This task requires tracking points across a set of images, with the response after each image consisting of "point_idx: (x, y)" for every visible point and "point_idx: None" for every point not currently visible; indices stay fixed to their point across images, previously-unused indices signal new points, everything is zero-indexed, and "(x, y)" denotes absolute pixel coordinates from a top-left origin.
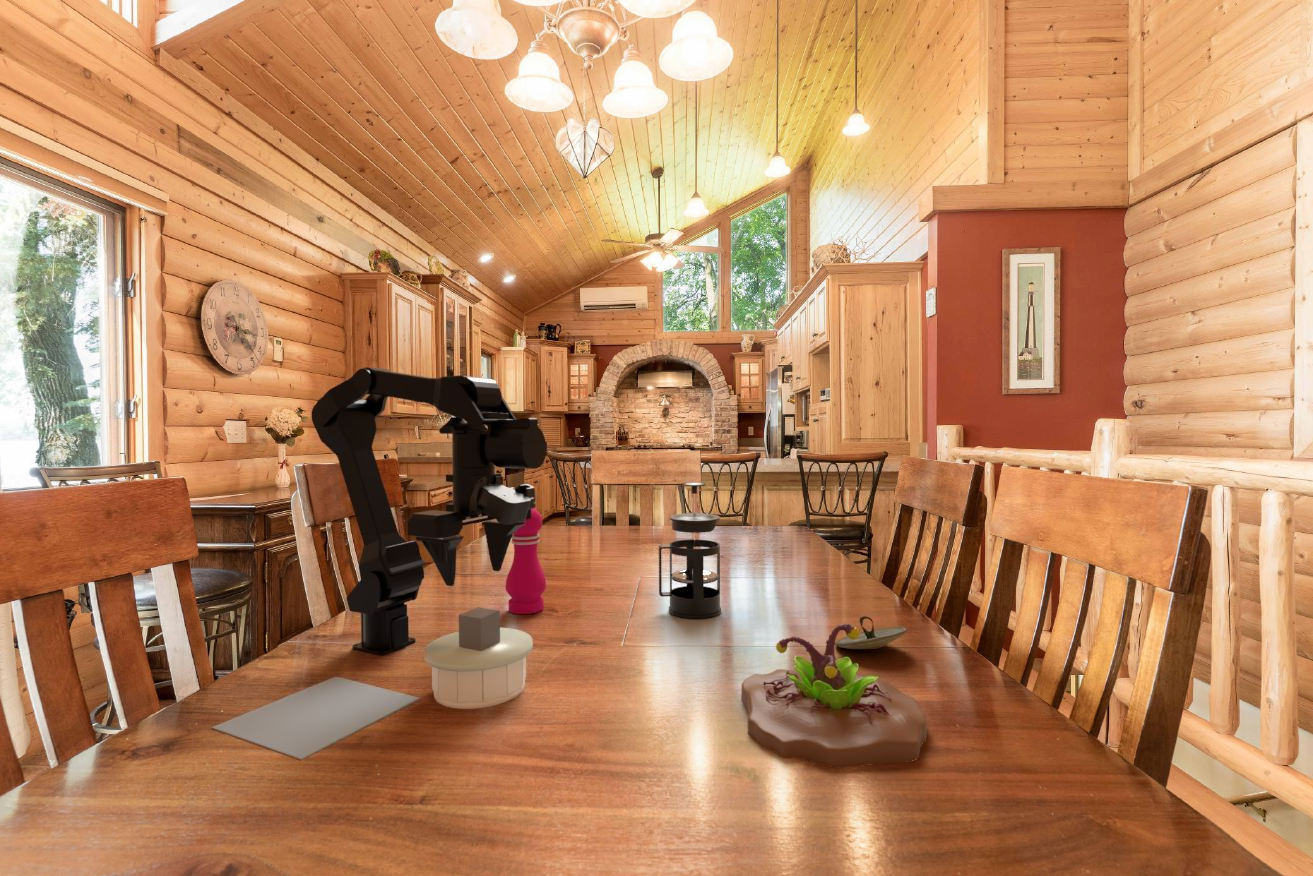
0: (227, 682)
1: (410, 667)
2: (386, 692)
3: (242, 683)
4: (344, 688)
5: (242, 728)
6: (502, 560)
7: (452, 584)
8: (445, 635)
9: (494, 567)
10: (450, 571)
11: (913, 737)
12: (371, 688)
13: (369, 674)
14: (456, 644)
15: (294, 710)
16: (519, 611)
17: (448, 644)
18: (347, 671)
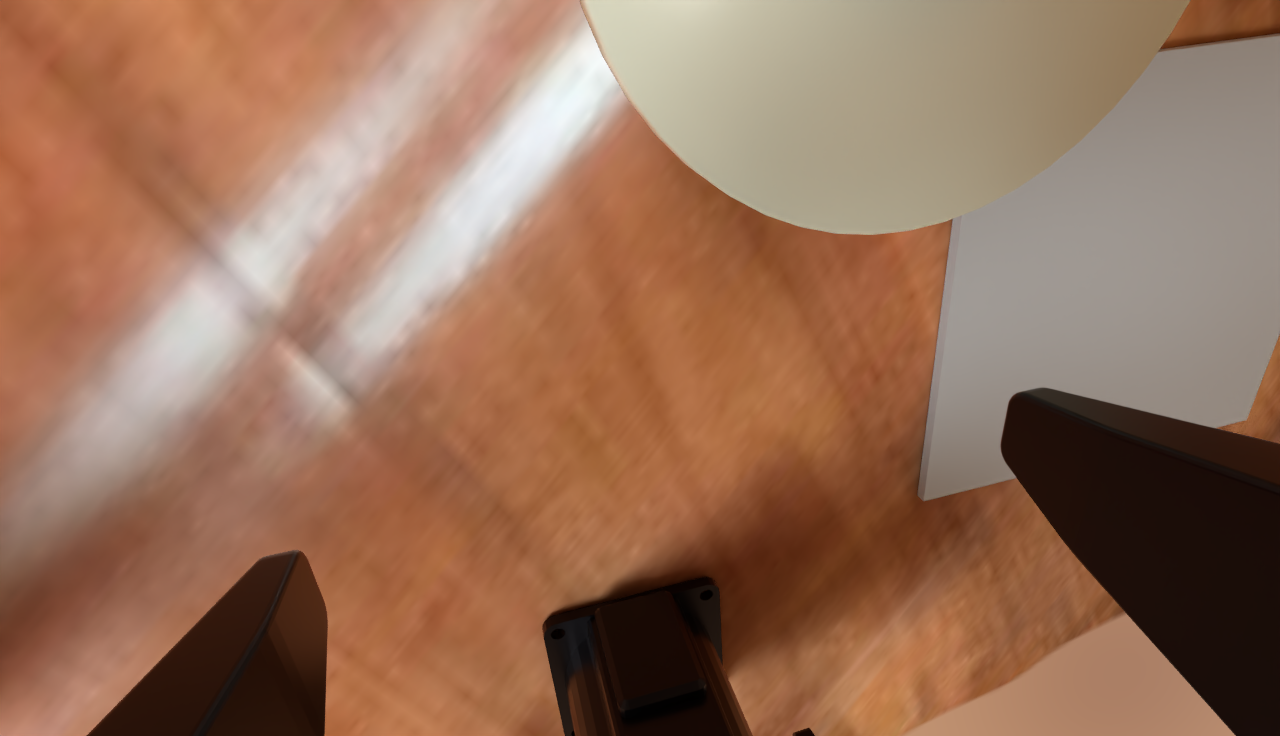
0: (1013, 662)
1: (737, 407)
2: (975, 243)
3: (1009, 635)
4: (988, 392)
5: (1247, 355)
6: (201, 645)
7: (1046, 391)
8: (881, 228)
9: (318, 625)
10: (1243, 437)
11: None
12: (965, 319)
13: (846, 457)
14: (987, 23)
15: (1143, 356)
16: None
17: (999, 72)
18: (854, 530)
